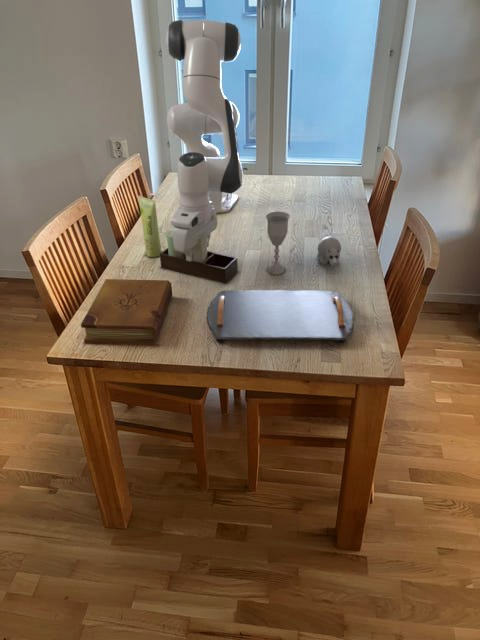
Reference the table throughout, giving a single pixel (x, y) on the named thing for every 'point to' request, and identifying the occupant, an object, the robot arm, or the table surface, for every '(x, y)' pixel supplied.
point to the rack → (202, 266)
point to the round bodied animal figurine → (329, 251)
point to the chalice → (277, 236)
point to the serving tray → (280, 315)
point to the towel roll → (172, 246)
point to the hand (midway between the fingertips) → (197, 253)
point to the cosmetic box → (200, 250)
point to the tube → (150, 226)
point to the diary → (128, 312)
